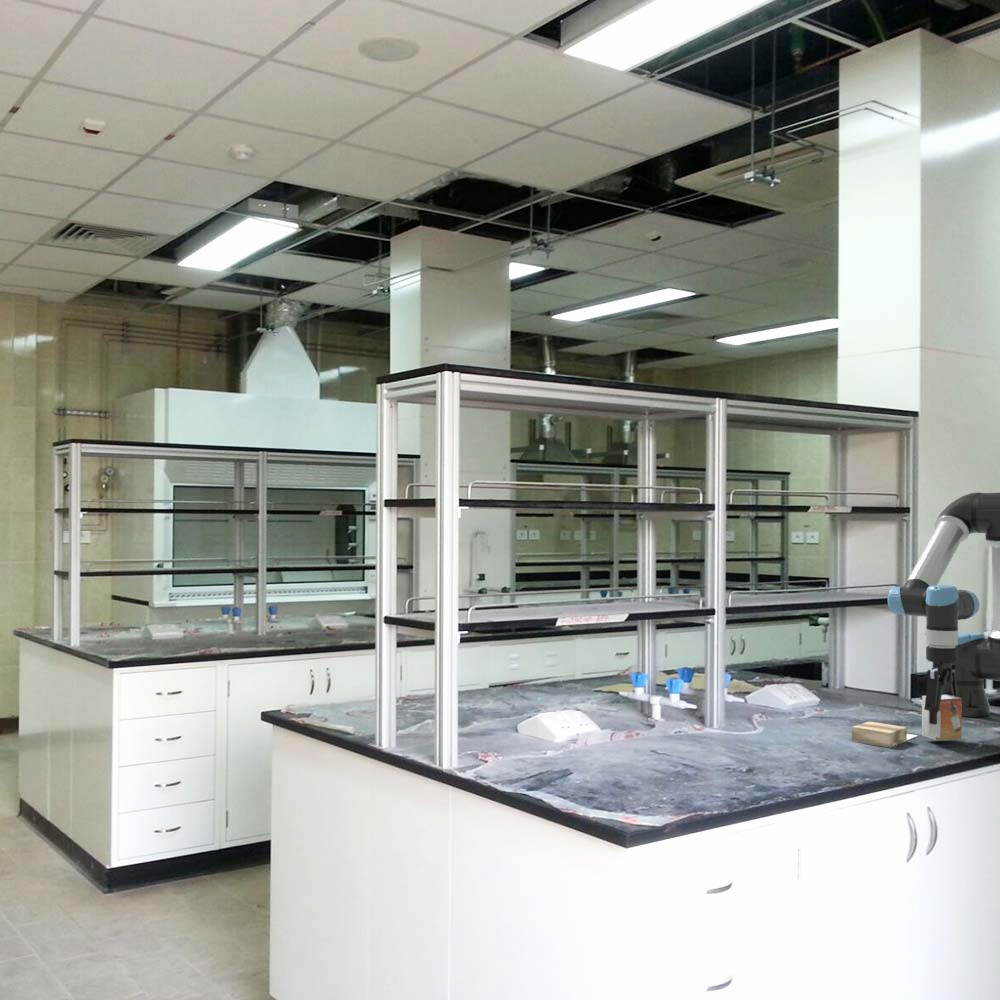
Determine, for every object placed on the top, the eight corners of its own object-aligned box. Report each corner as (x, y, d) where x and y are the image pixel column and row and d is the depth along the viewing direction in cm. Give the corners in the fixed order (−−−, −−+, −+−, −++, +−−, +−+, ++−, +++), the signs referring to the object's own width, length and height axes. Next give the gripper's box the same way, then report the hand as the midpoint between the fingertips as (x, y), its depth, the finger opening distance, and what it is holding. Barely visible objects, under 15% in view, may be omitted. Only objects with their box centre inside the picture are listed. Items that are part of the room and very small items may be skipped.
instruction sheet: (880, 730, 282) (880, 729, 282) (917, 736, 275) (917, 735, 275) (869, 734, 277) (869, 733, 277) (907, 740, 270) (907, 739, 270)
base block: (869, 736, 276) (869, 721, 276) (906, 742, 269) (906, 727, 269) (851, 742, 269) (851, 726, 269) (889, 749, 262) (889, 733, 262)
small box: (935, 741, 265) (935, 699, 265) (921, 736, 270) (921, 695, 270) (962, 739, 267) (962, 697, 267) (947, 734, 272) (947, 693, 272)
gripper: (942, 640, 279) (942, 723, 279) (910, 649, 263) (910, 738, 263) (971, 642, 274) (971, 728, 274) (941, 652, 258) (940, 743, 258)
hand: (941, 733), depth 269 cm, fingers closed on small box, 9 cm apart
